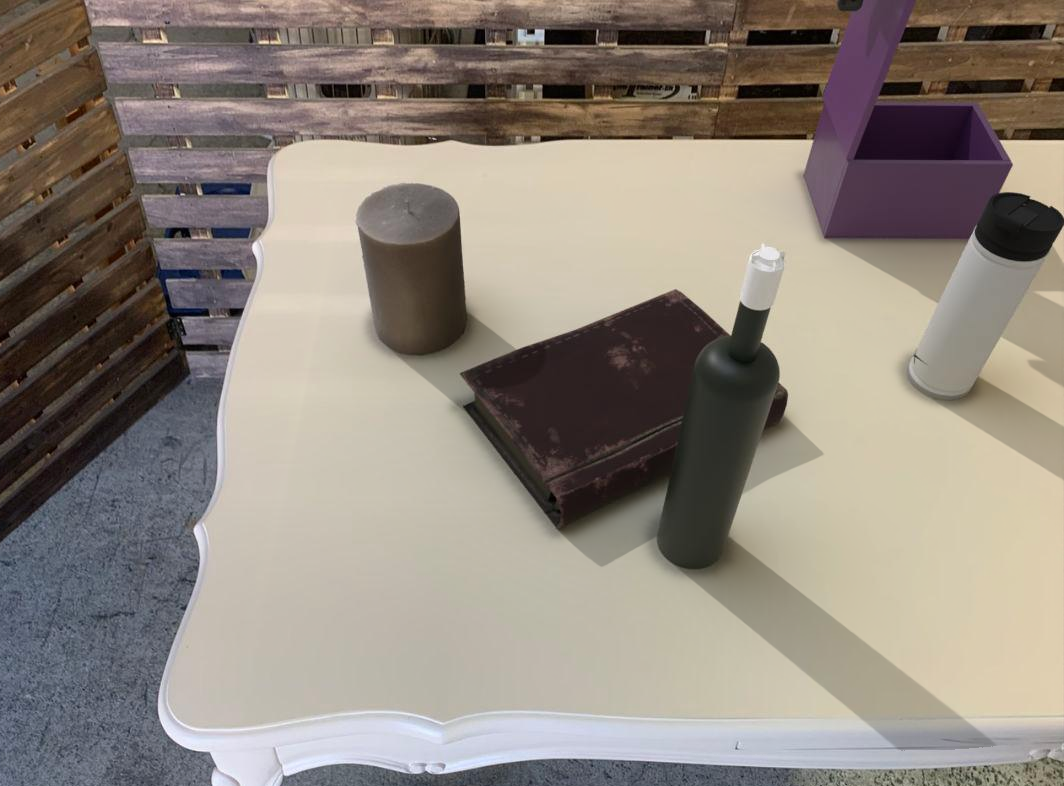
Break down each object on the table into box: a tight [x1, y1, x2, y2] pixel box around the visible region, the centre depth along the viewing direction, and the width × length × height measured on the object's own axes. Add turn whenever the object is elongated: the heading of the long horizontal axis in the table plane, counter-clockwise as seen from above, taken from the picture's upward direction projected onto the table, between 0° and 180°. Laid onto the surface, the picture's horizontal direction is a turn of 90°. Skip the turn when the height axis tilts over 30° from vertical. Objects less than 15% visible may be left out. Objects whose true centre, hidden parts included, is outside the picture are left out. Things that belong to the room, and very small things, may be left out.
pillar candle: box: [355, 182, 468, 356], centre depth 88 cm, size 10×10×15 cm
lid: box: [822, 0, 917, 159], centre depth 91 cm, size 18×13×5 cm
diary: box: [459, 288, 789, 530], centre depth 85 cm, size 19×25×5 cm
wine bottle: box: [656, 242, 787, 570], centre depth 66 cm, size 6×6×30 cm
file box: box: [803, 101, 1014, 240], centre depth 103 cm, size 18×13×10 cm
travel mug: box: [906, 191, 1064, 401], centre depth 82 cm, size 6×7×20 cm
